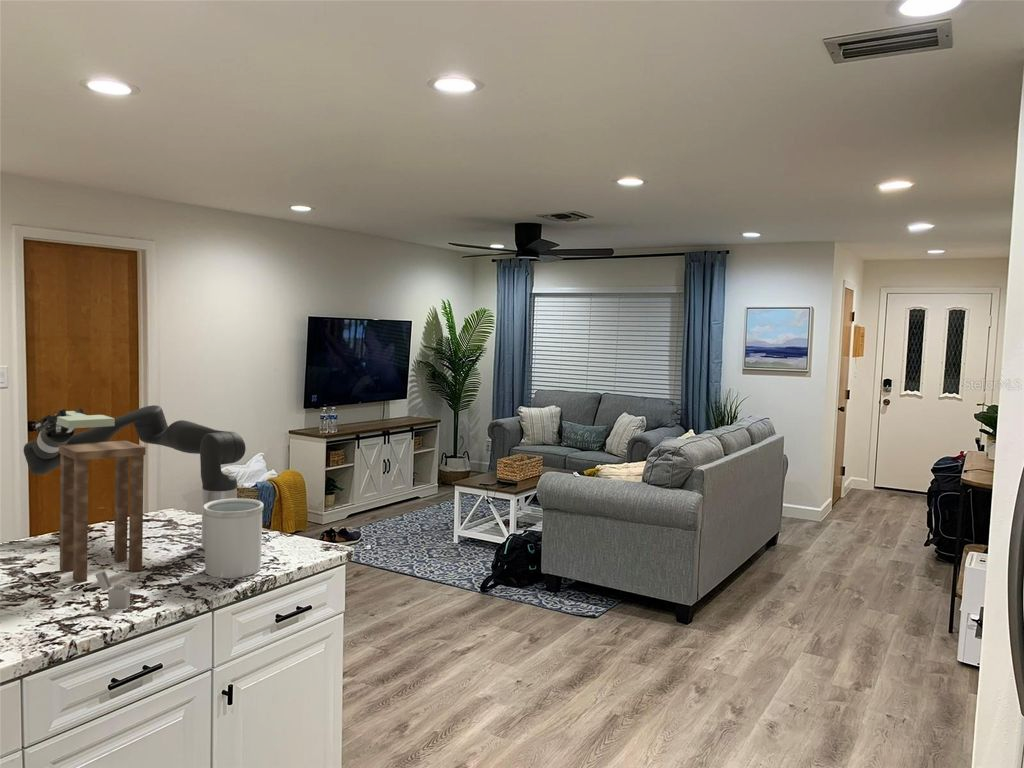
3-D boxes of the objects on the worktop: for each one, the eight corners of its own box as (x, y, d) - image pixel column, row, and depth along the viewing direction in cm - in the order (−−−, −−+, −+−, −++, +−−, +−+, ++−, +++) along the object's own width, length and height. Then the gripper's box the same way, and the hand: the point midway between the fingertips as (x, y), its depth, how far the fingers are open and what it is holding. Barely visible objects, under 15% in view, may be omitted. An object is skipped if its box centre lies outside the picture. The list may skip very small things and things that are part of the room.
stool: (124, 558, 206) (125, 440, 203) (143, 570, 197) (145, 447, 195) (58, 569, 194) (58, 445, 192) (75, 583, 185) (76, 452, 183)
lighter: (130, 606, 172) (130, 571, 172) (126, 609, 170) (126, 573, 170) (99, 604, 172) (99, 569, 172) (94, 607, 170) (94, 572, 170)
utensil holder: (226, 583, 190) (227, 514, 189) (189, 571, 198) (190, 504, 197) (274, 569, 202) (275, 504, 201) (238, 558, 210) (239, 495, 209)
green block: (88, 417, 216) (88, 410, 215) (114, 426, 202) (114, 418, 202) (44, 419, 208) (44, 412, 207) (68, 428, 194) (68, 420, 194)
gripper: (24, 425, 215) (41, 399, 204) (79, 422, 225) (98, 398, 214) (28, 449, 213) (45, 425, 202) (84, 446, 223) (102, 422, 212)
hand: (72, 411), depth 208 cm, fingers closed on green block, 3 cm apart
